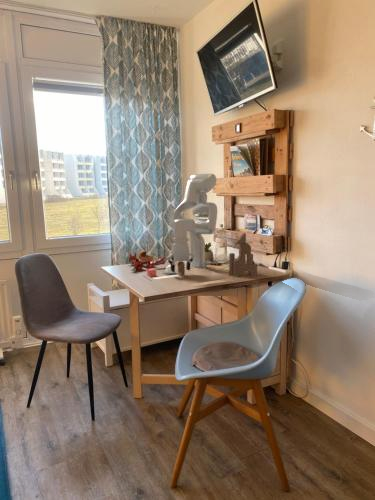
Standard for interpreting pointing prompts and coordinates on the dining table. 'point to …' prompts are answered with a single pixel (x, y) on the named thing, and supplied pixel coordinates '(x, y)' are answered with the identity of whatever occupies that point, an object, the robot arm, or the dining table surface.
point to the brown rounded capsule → (181, 268)
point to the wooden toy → (242, 259)
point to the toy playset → (144, 261)
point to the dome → (169, 270)
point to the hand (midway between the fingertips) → (180, 270)
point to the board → (153, 273)
